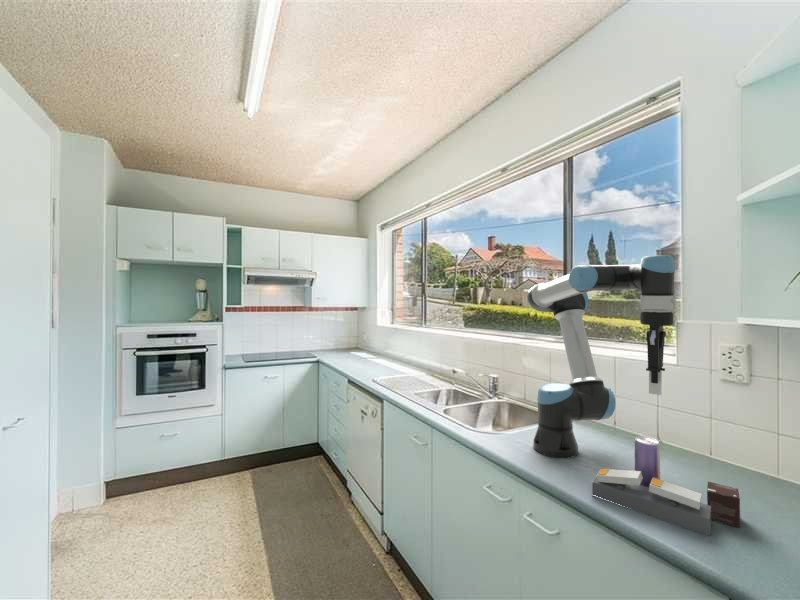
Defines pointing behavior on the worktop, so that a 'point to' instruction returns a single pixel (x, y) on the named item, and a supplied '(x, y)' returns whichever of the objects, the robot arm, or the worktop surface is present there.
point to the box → (724, 504)
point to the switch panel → (655, 505)
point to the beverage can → (647, 459)
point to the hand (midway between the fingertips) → (655, 393)
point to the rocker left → (620, 476)
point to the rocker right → (675, 493)
